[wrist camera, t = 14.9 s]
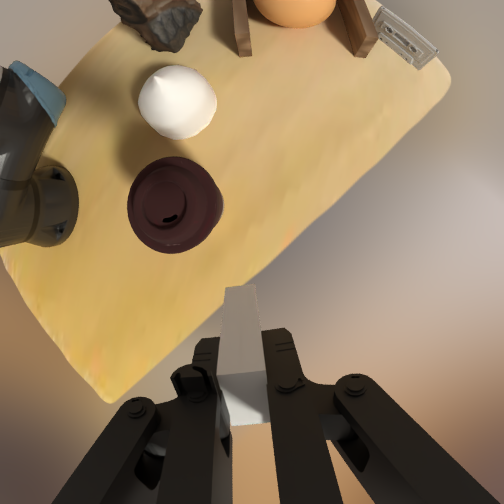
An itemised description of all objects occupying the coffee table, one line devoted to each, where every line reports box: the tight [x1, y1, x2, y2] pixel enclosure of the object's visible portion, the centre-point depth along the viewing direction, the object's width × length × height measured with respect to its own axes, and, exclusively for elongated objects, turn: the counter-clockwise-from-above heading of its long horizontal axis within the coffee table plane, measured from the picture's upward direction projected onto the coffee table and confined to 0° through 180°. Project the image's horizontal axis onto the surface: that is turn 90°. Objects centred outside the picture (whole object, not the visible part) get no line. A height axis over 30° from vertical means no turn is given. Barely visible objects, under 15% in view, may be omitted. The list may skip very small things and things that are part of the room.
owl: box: [109, 0, 203, 53], centre depth 25 cm, size 13×13×20 cm
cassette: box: [372, 6, 439, 70], centre depth 30 cm, size 12×2×8 cm, turn 51°
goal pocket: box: [232, 0, 379, 58], centre depth 30 cm, size 21×18×8 cm
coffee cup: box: [127, 157, 224, 254], centre depth 32 cm, size 10×10×15 cm
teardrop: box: [138, 65, 217, 140], centre depth 32 cm, size 11×11×12 cm
